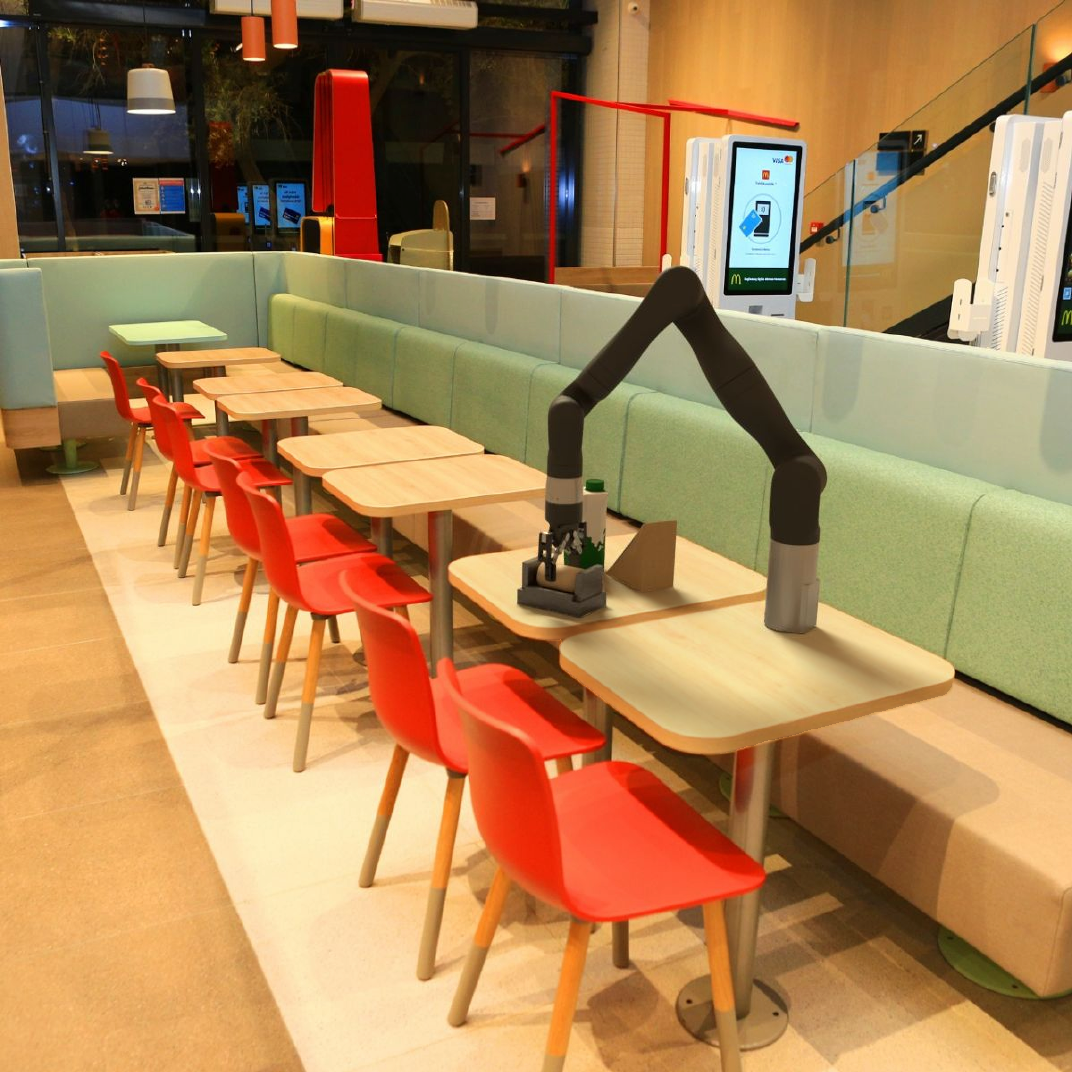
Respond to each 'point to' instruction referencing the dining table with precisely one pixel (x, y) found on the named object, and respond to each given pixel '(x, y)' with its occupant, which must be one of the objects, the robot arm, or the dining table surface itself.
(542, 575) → the paper roll
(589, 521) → the milk carton
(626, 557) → the sandwich container
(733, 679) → the dining table surface
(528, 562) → the roll holder
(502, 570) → the dining table surface
